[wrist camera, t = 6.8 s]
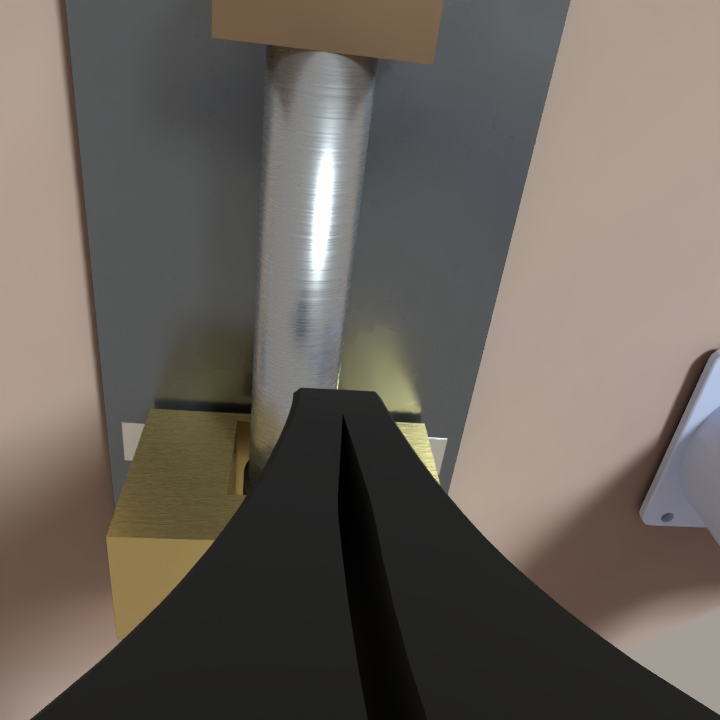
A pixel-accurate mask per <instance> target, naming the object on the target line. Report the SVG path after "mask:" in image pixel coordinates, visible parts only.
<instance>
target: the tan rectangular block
mask: <svg viewBox="0 0 720 720" xmlns="http://www.w3.org/2000/svg"><path fill="white" fill-rule="evenodd" d="M396 424H397V426H398V427H399V429H400V430H401V432H402V433H403V435H404V436H405V438H406V439H407V441H408V442H409V444H410V445H411V447H412V448H413V450H414V451H415V452H416V454H417V455H418V457H419V458H420V459H421V461H422V462H423V463H424V465H425V466H426V467H427V469H428V470H429V471H430V473H431V474H432V476H433V477H434V478H435V480H436V481H437V482H438V483H439V485H440V482H439V478H438V474H437V470H436V466H435V462H434V458H433V455H432V451H431V447H430V443H429V439H428V435H427V431H426V427H425V424H423V423H405V422H396ZM250 428H251V414H239V413H221V412H203V411H184V410H166V409H150V411H149V414H148V416H147V419H146V422H145V425H144V428H143V431H142V434H141V437H140V440H139V442H138V445H137V448H136V451H135V454H134V457H133V460H132V463H131V466H130V469H129V471H128V474H127V477H126V480H125V483H124V486H123V489H122V492H121V495H120V497H119V500H118V503H117V506H116V509H115V512H114V515H113V518H112V521H111V523H110V526H109V529H108V532H107V535H106V543H107V552H108V561H109V570H110V579H111V588H112V597H113V606H114V615H115V624H116V634H117V639H124V638H125V637H126V636H127V635H128V634H129V633H130V632H131V631H132V630H133V629H134V628H135V627H136V626H137V625H138V624H139V623H140V622H141V621H142V620H143V619H145V618H146V617H147V616H148V615H149V614H150V613H151V612H152V611H153V610H154V609H155V608H156V607H157V606H158V605H159V604H160V603H161V602H162V601H163V600H164V599H165V598H166V597H167V595H168V594H169V593H170V592H171V591H172V590H173V589H174V588H175V587H176V586H177V585H178V584H179V582H180V581H181V580H182V579H183V578H184V577H185V576H186V574H187V573H188V572H189V571H190V570H191V569H192V567H193V566H194V565H195V564H196V563H197V561H198V560H199V559H200V558H201V557H202V556H203V554H204V553H205V552H206V551H207V550H208V548H209V547H210V546H211V545H212V543H213V542H214V541H215V539H216V538H217V537H218V536H219V534H220V533H221V532H222V530H223V529H224V528H225V526H226V525H227V524H228V522H229V521H230V519H231V518H232V517H233V515H234V514H235V512H236V511H237V509H238V508H239V506H240V505H241V504H242V502H243V500H244V499H245V497H246V496H247V495H243V477H244V468H245V465H246V463H247V462H248V460H249V452H250Z"/></svg>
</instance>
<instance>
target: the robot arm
mask: <svg viewBox="0 0 720 720" xmlns="http://www.w3.org/2000/svg"><path fill="white" fill-rule="evenodd" d="M639 515H640V517H641V519H642V521H643V522H644V523H645V524H646V525H653V526H680V527H707V529H708V530H709V532H710V533H711V534H712V536H713V537H714V539H715V540H716V541H717V543H718V544H719V546H720V349H719V350H717V351H715V352H714V353H713V354H712V355H711V356H710V358H709V359H708V361H707V363H706V366H705V368H704V370H703V372H702V374H701V377H700V379H699V381H698V383H697V385H696V388H695V390H694V392H693V394H692V396H691V399H690V401H689V403H688V405H687V407H686V410H685V412H684V414H683V416H682V418H681V421H680V423H679V425H678V427H677V429H676V432H675V434H674V436H673V438H672V440H671V443H670V445H669V447H668V449H667V451H666V454H665V456H664V458H663V460H662V462H661V465H660V467H659V469H658V471H657V473H656V476H655V478H654V480H653V482H652V484H651V486H650V489H649V491H648V493H647V495H646V497H645V500H644V502H643V504H642V506H641V508H640V511H639ZM30 720H720V715H719V714H717V713H715V712H714V711H712V710H711V709H709V708H708V707H706V706H704V705H703V704H701V703H700V702H698V701H697V700H695V699H693V698H692V697H690V696H689V695H687V694H686V693H684V692H682V691H681V690H679V689H678V688H676V687H675V686H673V685H671V684H670V683H668V682H667V681H665V680H663V679H662V678H660V677H659V676H657V675H656V674H654V673H652V672H651V671H649V670H648V669H646V668H645V667H643V666H642V665H640V664H639V663H637V662H636V661H634V660H633V659H631V658H630V657H629V656H627V655H626V654H624V653H623V652H622V651H620V650H619V649H617V648H616V647H615V646H613V645H612V644H611V643H609V642H608V641H606V640H605V639H604V638H602V637H601V636H599V635H598V634H597V633H595V632H594V631H593V630H591V629H590V628H588V627H587V626H586V625H585V624H583V623H582V622H581V621H579V620H578V619H577V618H576V617H574V616H573V615H572V614H570V613H569V612H568V611H567V610H565V609H564V608H563V607H562V606H560V605H559V604H558V603H557V602H556V601H554V600H553V599H552V598H551V597H550V596H549V595H547V594H546V593H545V592H544V591H543V590H541V589H540V588H539V587H538V586H537V585H536V584H534V583H533V582H532V581H531V580H530V579H528V578H527V577H526V576H525V575H524V574H523V573H522V572H521V571H519V570H518V569H517V568H516V567H515V566H514V565H513V564H512V563H511V562H510V561H508V560H507V559H506V558H505V557H504V556H503V555H502V554H501V553H500V552H499V551H498V550H497V549H496V548H495V547H494V546H493V545H492V544H491V543H490V542H489V541H488V540H487V539H486V538H485V537H484V536H483V535H482V534H481V533H480V531H479V530H478V529H477V528H476V527H475V526H474V525H473V524H472V523H471V522H470V520H469V519H468V518H467V517H466V516H465V515H464V514H463V513H462V511H461V510H460V509H459V508H458V507H457V505H456V504H455V503H454V502H453V501H452V499H451V498H450V497H449V496H448V495H447V493H446V492H445V491H444V490H443V488H442V487H441V486H440V485H439V483H438V482H437V481H436V480H435V478H434V477H433V476H432V474H431V473H430V471H429V470H428V469H427V467H426V466H425V465H424V463H423V462H422V461H421V459H420V458H419V457H418V455H417V454H416V452H415V451H414V450H413V448H412V447H411V445H410V444H409V442H408V441H407V439H406V438H405V436H404V435H403V433H402V432H401V430H400V429H399V427H398V426H397V424H396V422H395V421H394V419H393V418H392V416H391V414H390V413H389V411H388V409H387V408H386V406H385V404H384V402H383V401H382V399H381V397H380V396H379V395H378V394H377V393H376V392H375V391H359V390H339V389H320V388H300V389H298V390H297V391H296V392H294V393H293V401H292V405H291V409H290V412H289V415H288V418H287V420H286V423H285V425H284V428H283V430H282V432H281V435H280V437H279V439H278V441H277V443H276V445H275V447H274V449H273V451H272V453H271V455H270V457H269V458H268V460H267V462H266V464H265V466H264V468H263V470H262V471H261V473H260V475H259V476H258V478H257V479H256V481H255V483H254V484H253V486H252V488H251V489H250V491H249V492H248V494H247V496H246V497H245V499H244V500H243V502H242V504H241V505H240V506H239V508H238V509H237V511H236V512H235V514H234V515H233V517H232V518H231V519H230V521H229V522H228V524H227V525H226V526H225V528H224V529H223V530H222V532H221V533H220V534H219V536H218V537H217V538H216V539H215V541H214V542H213V543H212V545H211V546H210V547H209V548H208V550H207V551H206V552H205V553H204V554H203V556H202V557H201V558H200V559H199V560H198V561H197V563H196V564H195V565H194V566H193V567H192V569H191V570H190V571H189V572H188V573H187V574H186V576H185V577H184V578H183V579H182V580H181V581H180V582H179V584H178V585H177V586H176V587H175V588H174V589H173V590H172V591H171V592H170V593H169V594H168V595H167V597H166V598H165V599H164V600H163V601H162V602H161V603H160V604H159V605H158V606H157V607H156V608H155V609H154V610H153V611H152V612H151V613H150V614H149V615H148V616H147V617H146V618H145V619H143V620H142V621H141V622H140V623H139V624H138V625H137V626H136V627H135V628H134V629H133V630H132V631H131V632H130V633H129V634H128V635H127V636H126V637H125V638H124V639H123V640H122V641H121V642H120V643H119V644H118V645H117V646H116V647H115V648H114V649H113V650H112V651H110V652H109V653H108V654H107V655H106V656H105V657H104V658H103V659H102V660H101V661H99V662H98V663H97V664H96V665H95V666H94V667H92V668H91V669H90V670H89V671H88V672H86V673H85V674H84V675H83V676H82V677H81V678H79V679H78V680H77V681H76V682H75V683H73V684H72V685H71V686H70V687H69V688H67V689H66V690H65V691H64V692H63V693H61V694H60V695H59V696H58V697H57V698H55V699H54V700H53V701H52V702H51V703H50V704H48V705H47V706H46V707H45V708H44V709H42V710H41V711H40V712H39V713H38V714H36V715H35V716H34V717H33V718H31V719H30Z"/></svg>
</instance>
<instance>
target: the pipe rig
mask: <svg viewBox="0 0 720 720" xmlns="http://www.w3.org/2000/svg"><path fill="white" fill-rule="evenodd" d="M65 4H66V14H67V25H68V35H69V45H70V55H71V66H72V76H73V86H74V96H75V107H76V117H77V127H78V137H79V148H80V158H81V168H82V179H83V189H84V199H85V209H86V220H87V230H88V240H89V250H90V261H91V271H92V281H93V291H94V302H95V312H96V322H97V333H98V343H99V353H100V363H101V374H102V384H103V394H104V404H105V415H106V425H107V435H108V445H109V456H110V466H111V476H112V486H113V497H114V507H115V509H116V506H117V503H118V500H119V497H120V495H121V492H122V489H123V486H124V483H125V480H126V477H127V474H128V471H129V469H130V466H131V463H132V460H133V457H134V454H135V451H136V448H137V445H138V442H139V440H140V437H141V434H142V431H143V428H144V425H145V422H146V419H147V416H148V414H149V411H150V409H166V410H184V411H203V412H221V413H239V414H251V428H250V452H249V460H248V462H247V463H246V465H245V468H244V477H243V495H247V494H248V492H249V491H250V489H251V488H252V486H253V484H254V483H255V481H256V479H257V478H258V476H259V475H260V473H261V471H262V470H263V468H264V466H265V464H266V462H267V460H268V458H269V457H270V455H271V453H272V451H273V449H274V447H275V445H276V443H277V441H278V439H279V437H280V435H281V432H282V430H283V428H284V425H285V423H286V420H287V418H288V415H289V412H290V409H291V405H292V401H293V393H294V392H296V391H297V390H298V389H300V388H320V389H339V390H359V391H375V392H376V393H377V394H378V395H379V396H380V397H381V399H382V401H383V402H384V404H385V406H386V408H387V409H388V411H389V413H390V414H391V416H392V418H393V419H394V421H395V422H405V423H423V424H425V427H426V431H427V435H428V439H429V443H430V447H431V451H432V455H433V458H434V462H435V466H436V470H437V474H438V478H439V482H440V486H441V487H442V488H443V490H444V491H445V492H446V493H447V495H448V491H449V487H450V483H451V479H452V475H453V471H454V467H455V463H456V459H457V454H458V450H459V446H460V442H461V438H462V434H463V430H464V426H465V422H466V418H467V414H468V410H469V406H470V402H471V398H472V394H473V390H474V386H475V382H476V378H477V374H478V370H479V366H480V362H481V358H482V354H483V350H484V346H485V342H486V338H487V334H488V330H489V326H490V322H491V318H492V314H493V310H494V306H495V302H496V298H497V294H498V290H499V286H500V282H501V278H502V274H503V270H504V266H505V262H506V257H507V253H508V249H509V245H510V241H511V237H512V233H513V229H514V225H515V221H516V217H517V213H518V209H519V205H520V201H521V197H522V193H523V189H524V185H525V181H526V177H527V173H528V169H529V165H530V161H531V157H532V153H533V149H534V145H535V141H536V137H537V133H538V129H539V125H540V121H541V117H542V113H543V109H544V105H545V101H546V97H547V93H548V89H549V85H550V81H551V77H552V73H553V69H554V65H555V61H556V56H557V52H558V48H559V44H560V40H561V36H562V32H563V28H564V24H565V20H566V16H567V12H568V8H569V4H570V0H65Z"/></svg>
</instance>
